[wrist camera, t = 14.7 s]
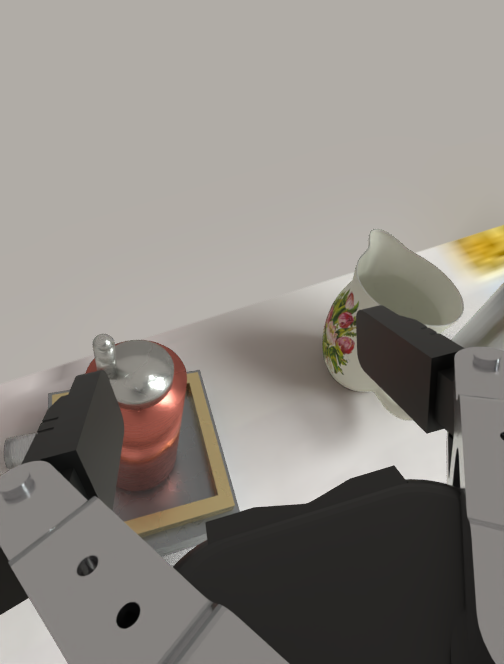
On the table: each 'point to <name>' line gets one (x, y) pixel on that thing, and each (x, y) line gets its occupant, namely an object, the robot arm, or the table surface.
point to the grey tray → (171, 480)
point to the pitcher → (395, 294)
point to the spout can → (144, 406)
